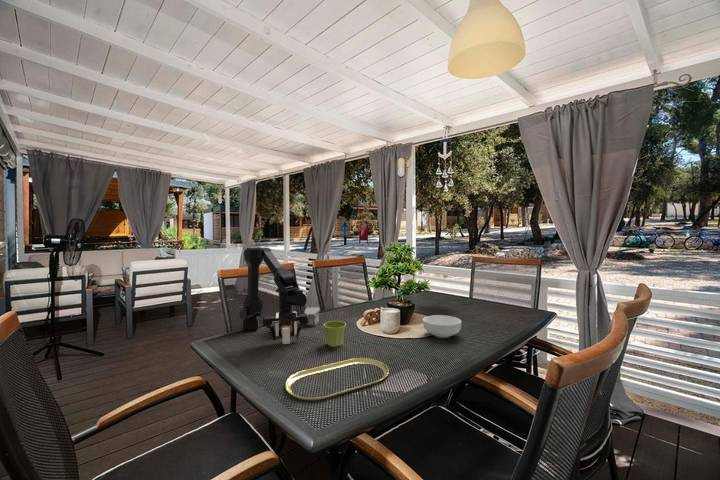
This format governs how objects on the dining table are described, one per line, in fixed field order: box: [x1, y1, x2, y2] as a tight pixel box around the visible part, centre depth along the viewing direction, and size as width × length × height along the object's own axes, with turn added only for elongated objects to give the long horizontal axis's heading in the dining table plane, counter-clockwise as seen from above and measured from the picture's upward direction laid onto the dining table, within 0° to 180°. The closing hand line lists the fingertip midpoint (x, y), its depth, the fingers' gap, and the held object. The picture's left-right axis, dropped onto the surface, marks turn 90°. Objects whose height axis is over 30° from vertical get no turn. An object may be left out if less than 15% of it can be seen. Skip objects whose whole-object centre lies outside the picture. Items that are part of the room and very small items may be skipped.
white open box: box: [275, 311, 298, 337], centre depth 149 cm, size 9×10×8 cm
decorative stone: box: [304, 306, 321, 327], centre depth 163 cm, size 15×7×10 cm
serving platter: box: [284, 357, 390, 401], centre depth 103 cm, size 19×35×2 cm, turn 120°
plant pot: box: [323, 320, 347, 348], centre depth 132 cm, size 9×9×9 cm
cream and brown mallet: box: [280, 325, 293, 345], centre depth 143 cm, size 5×18×6 cm, turn 12°
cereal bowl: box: [422, 314, 462, 339], centre depth 144 cm, size 17×17×7 cm
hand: (286, 339), depth 135 cm, fingers open, 9 cm apart
